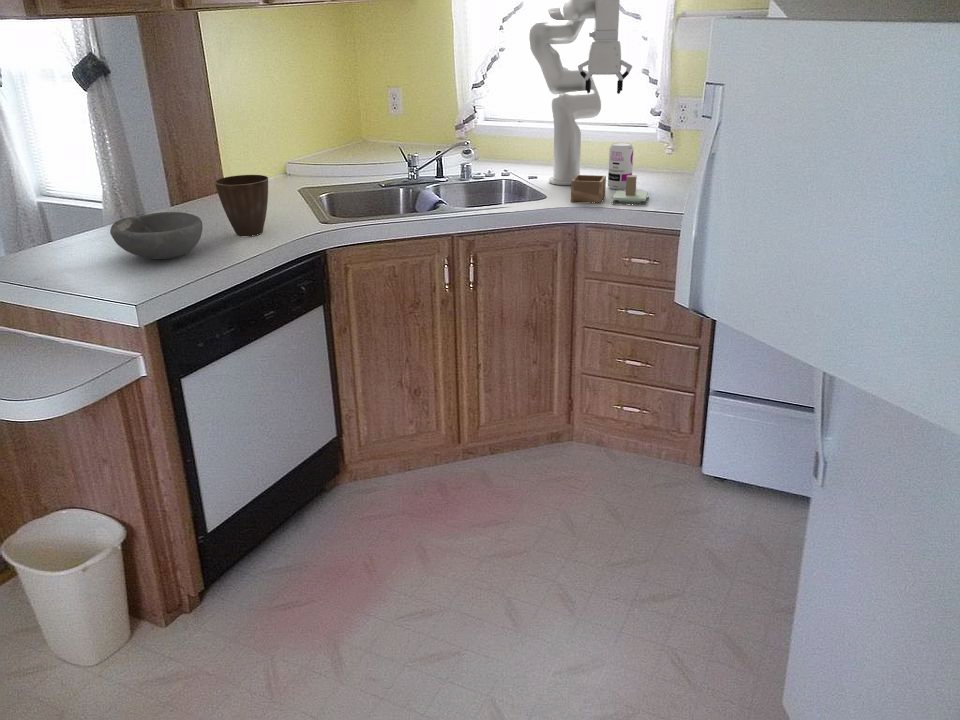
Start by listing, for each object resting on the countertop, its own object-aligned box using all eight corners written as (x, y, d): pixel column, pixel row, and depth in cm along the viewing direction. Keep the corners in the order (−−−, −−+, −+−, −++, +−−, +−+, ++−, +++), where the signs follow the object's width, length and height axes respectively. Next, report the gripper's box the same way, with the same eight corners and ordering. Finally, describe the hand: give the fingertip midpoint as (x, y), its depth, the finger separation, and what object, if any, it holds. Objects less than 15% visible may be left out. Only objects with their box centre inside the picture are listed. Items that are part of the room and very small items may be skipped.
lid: (616, 195, 274) (617, 172, 271) (647, 197, 271) (649, 173, 268) (612, 202, 265) (613, 178, 262) (645, 204, 262) (646, 179, 259)
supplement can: (630, 185, 291) (632, 142, 284) (631, 190, 283) (634, 146, 277) (607, 185, 291) (609, 142, 285) (608, 190, 284) (610, 146, 278)
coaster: (615, 196, 274) (615, 195, 274) (648, 198, 272) (648, 196, 271) (611, 204, 265) (611, 203, 265) (645, 205, 262) (645, 204, 262)
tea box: (575, 195, 277) (576, 174, 275) (605, 196, 275) (606, 175, 272) (570, 202, 269) (571, 180, 266) (601, 203, 266) (601, 182, 263)
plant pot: (212, 238, 237) (203, 183, 230) (242, 225, 250) (235, 173, 243) (256, 242, 232) (248, 186, 225) (284, 229, 245) (278, 175, 238)
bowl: (143, 275, 206) (136, 236, 202) (102, 259, 220) (94, 222, 216) (223, 254, 222) (217, 218, 218) (180, 240, 235) (174, 206, 231)
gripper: (576, 37, 255) (575, 94, 262) (632, 36, 250) (629, 94, 257) (580, 35, 261) (578, 91, 268) (634, 35, 257) (632, 92, 264)
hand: (603, 93), depth 263 cm, fingers open, 9 cm apart
